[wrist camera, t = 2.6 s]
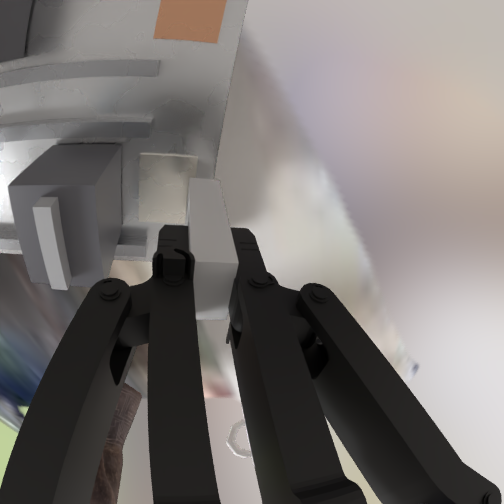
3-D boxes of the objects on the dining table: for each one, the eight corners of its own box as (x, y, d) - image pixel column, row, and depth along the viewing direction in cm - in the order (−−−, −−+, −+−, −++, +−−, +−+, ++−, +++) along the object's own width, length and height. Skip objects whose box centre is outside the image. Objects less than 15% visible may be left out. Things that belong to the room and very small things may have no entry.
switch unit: (-29, 227, 16) (-51, 257, 13) (-33, -16, 5) (-66, -17, 2) (200, 237, 22) (203, 274, 18) (254, -51, 10) (270, -74, 7)
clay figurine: (59, 306, 23) (34, 588, 4) (158, 336, 27) (184, 603, 8) (55, 371, 29) (46, 564, 9) (129, 391, 33) (142, 578, 14)
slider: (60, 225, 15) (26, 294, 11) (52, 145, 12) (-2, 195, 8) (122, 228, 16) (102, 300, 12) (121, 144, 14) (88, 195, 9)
